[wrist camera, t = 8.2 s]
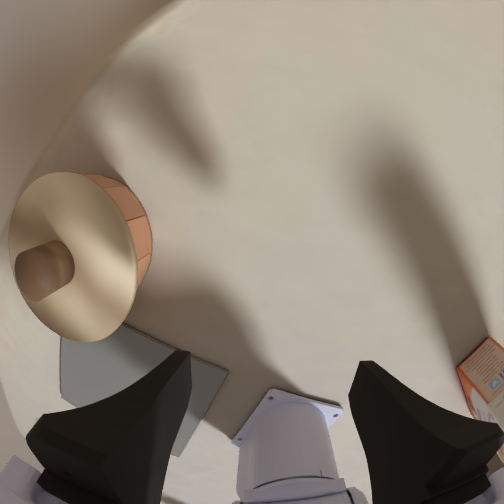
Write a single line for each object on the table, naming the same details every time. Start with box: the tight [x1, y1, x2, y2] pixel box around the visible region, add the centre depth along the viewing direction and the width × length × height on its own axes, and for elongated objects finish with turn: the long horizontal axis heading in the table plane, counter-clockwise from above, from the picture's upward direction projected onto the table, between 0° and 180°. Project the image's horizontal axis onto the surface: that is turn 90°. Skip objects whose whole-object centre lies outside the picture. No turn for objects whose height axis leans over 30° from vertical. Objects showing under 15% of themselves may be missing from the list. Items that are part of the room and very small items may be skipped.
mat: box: [61, 322, 228, 457], centre depth 23 cm, size 16×16×1 cm
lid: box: [9, 172, 138, 342], centre depth 14 cm, size 12×12×4 cm
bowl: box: [81, 174, 152, 287], centre depth 18 cm, size 10×10×4 cm
